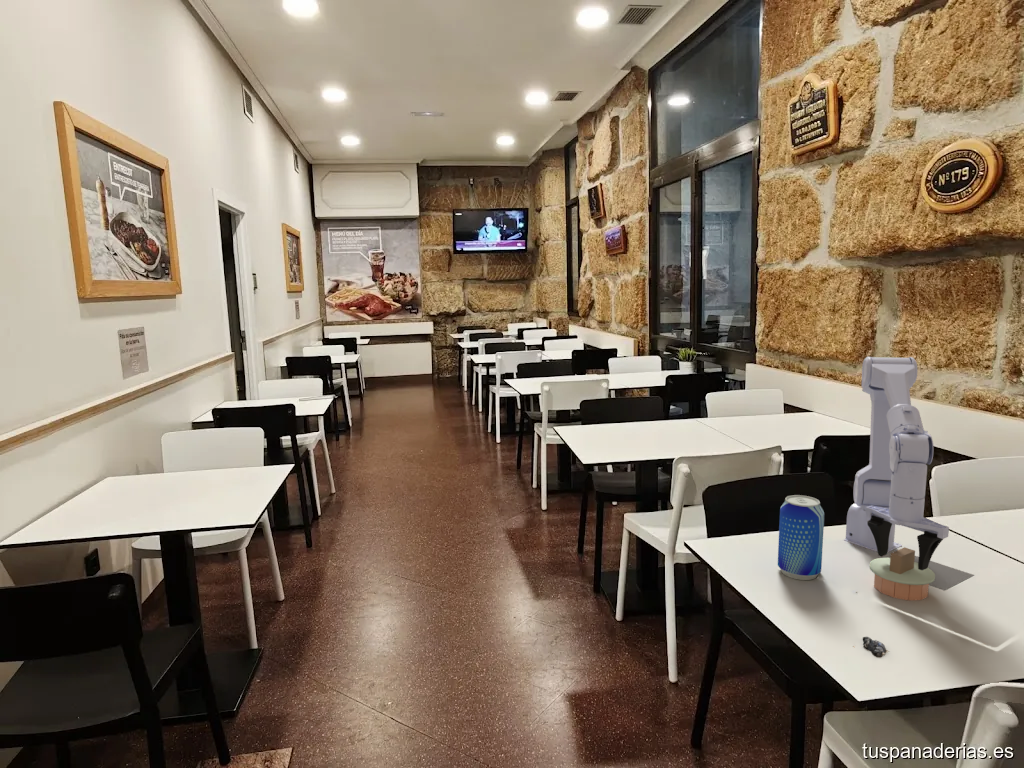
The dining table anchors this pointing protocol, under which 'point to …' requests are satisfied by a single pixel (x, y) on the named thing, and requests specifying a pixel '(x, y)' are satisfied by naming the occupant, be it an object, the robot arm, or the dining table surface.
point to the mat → (945, 575)
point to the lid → (902, 568)
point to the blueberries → (874, 647)
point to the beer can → (801, 537)
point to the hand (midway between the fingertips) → (902, 561)
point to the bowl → (900, 589)
